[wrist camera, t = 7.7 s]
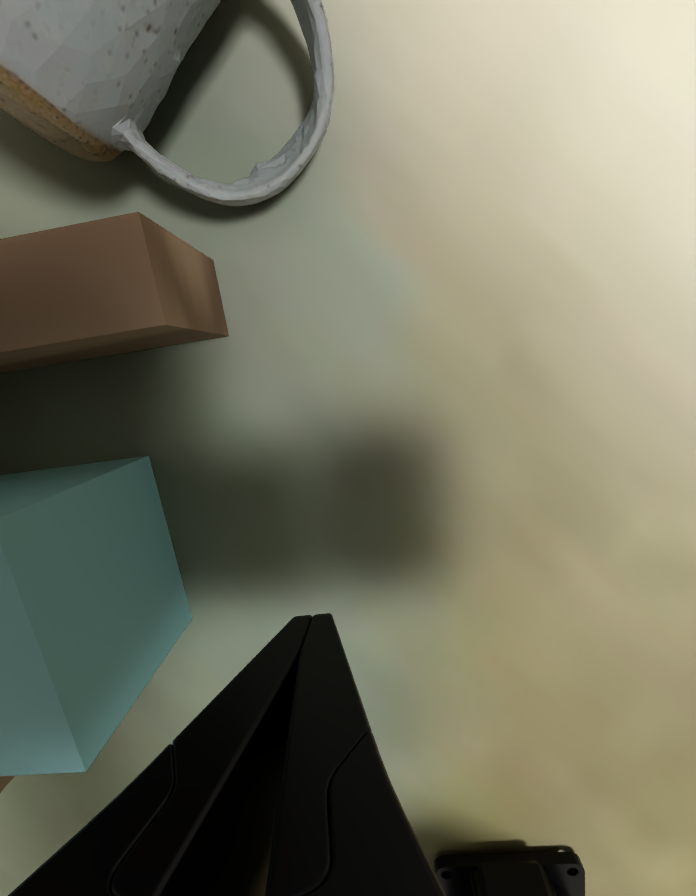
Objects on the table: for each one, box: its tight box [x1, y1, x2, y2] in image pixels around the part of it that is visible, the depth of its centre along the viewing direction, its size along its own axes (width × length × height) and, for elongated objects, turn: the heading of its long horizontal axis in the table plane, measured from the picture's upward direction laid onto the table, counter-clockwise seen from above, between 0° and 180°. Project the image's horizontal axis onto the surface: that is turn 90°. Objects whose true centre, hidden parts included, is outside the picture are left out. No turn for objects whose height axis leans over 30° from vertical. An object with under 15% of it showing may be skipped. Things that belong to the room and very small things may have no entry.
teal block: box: [0, 456, 192, 776], centre depth 12 cm, size 7×7×6 cm
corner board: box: [0, 212, 229, 792], centre depth 13 cm, size 17×13×4 cm
